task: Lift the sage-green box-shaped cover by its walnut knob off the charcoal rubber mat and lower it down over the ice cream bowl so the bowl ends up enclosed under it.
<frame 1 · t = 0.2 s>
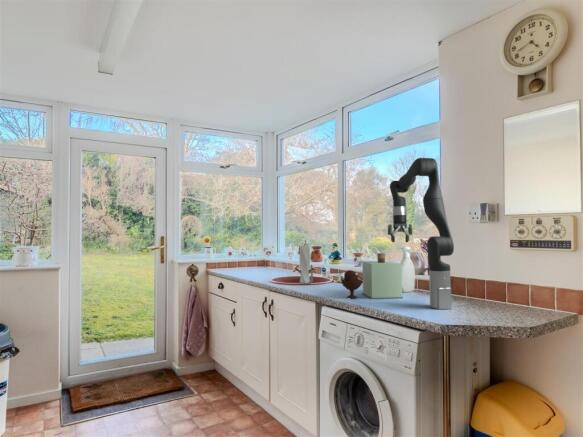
hand: (400, 242, 224), 29 cm above the worktop, fingers open, 8 cm apart
ice cream bowl: (352, 298, 207), on the worktop
cover: (381, 274, 213), on the mat
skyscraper: (305, 283, 269), on the worktop
mat: (381, 295, 213), on the worktop
soap bottle: (406, 292, 227), on the worktop
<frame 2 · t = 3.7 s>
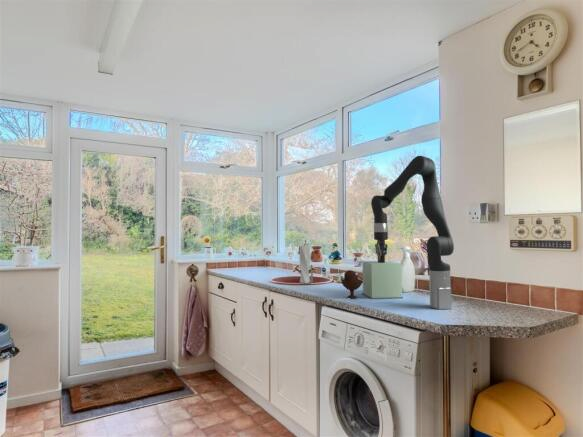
hand: (381, 262, 213), 19 cm above the worktop, fingers closed on cover, 4 cm apart
cover: (381, 274, 213), on the mat, touching gripper
everything else where it was.
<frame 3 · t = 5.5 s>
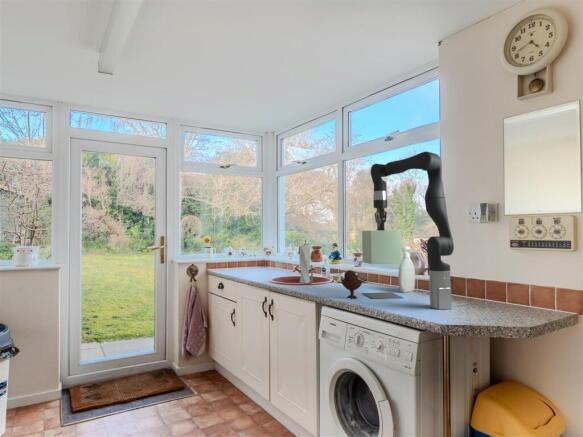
hand: (380, 230, 214), 37 cm above the worktop, fingers closed on cover, 4 cm apart
cover: (381, 242, 214), point 30 cm above the worktop, touching gripper
everything else where it was.
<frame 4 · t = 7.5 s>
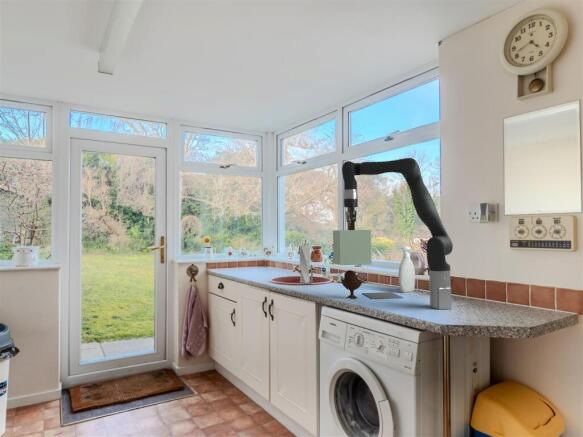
hand: (351, 229, 208), 37 cm above the worktop, fingers closed on cover, 4 cm apart
cover: (351, 242, 208), point 30 cm above the worktop, touching gripper
everything else where it was.
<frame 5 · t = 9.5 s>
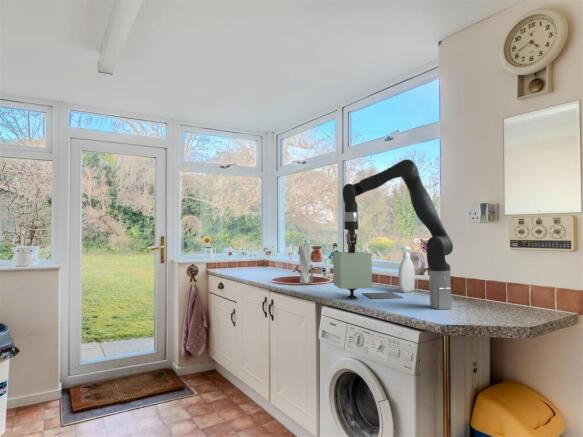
hand: (351, 252, 207), 25 cm above the worktop, fingers closed on cover, 4 cm apart
cover: (351, 264, 207), point 18 cm above the worktop, touching gripper
everything else where it was.
when the fingers open (20 cm above the worktop, at t = 11.3 s): cover drops 2 cm, on the worktop.
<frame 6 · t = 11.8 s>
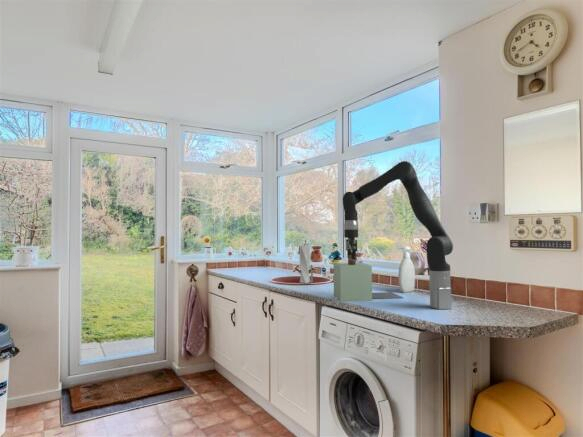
hand: (351, 258, 207), 21 cm above the worktop, fingers open, 8 cm apart
cover: (352, 276, 207), on the worktop
everything else where it was.
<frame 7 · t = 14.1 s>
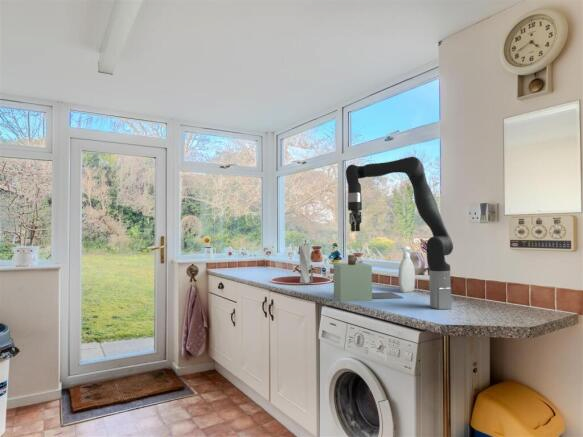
hand: (355, 231, 209), 36 cm above the worktop, fingers open, 8 cm apart
nothing on the worktop moved.
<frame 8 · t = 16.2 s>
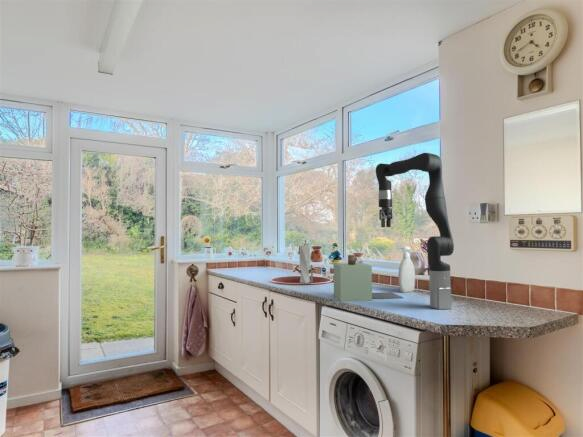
hand: (385, 227, 217), 38 cm above the worktop, fingers open, 8 cm apart
nothing on the worktop moved.
at the end: cover 0.1 cm off-centre in the ice cream bowl, point 11.7 cm above the ice cream bowl's base; cover tilted 0°; the gripper is holding nothing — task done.
